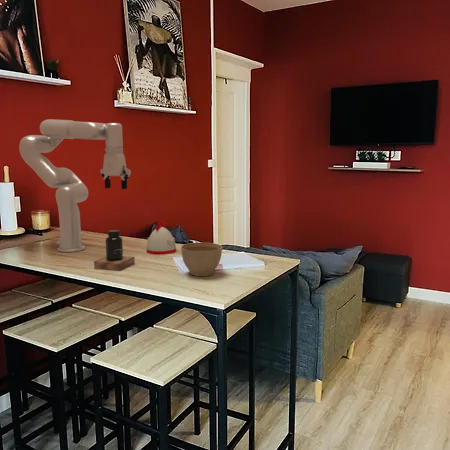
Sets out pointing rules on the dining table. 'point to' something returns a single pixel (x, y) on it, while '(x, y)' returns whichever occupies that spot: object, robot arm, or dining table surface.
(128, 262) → the base block
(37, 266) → the dining table surface
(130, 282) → the dining table surface
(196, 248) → the planter bowl
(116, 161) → the robot arm
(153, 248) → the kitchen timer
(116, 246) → the supplement bottle
